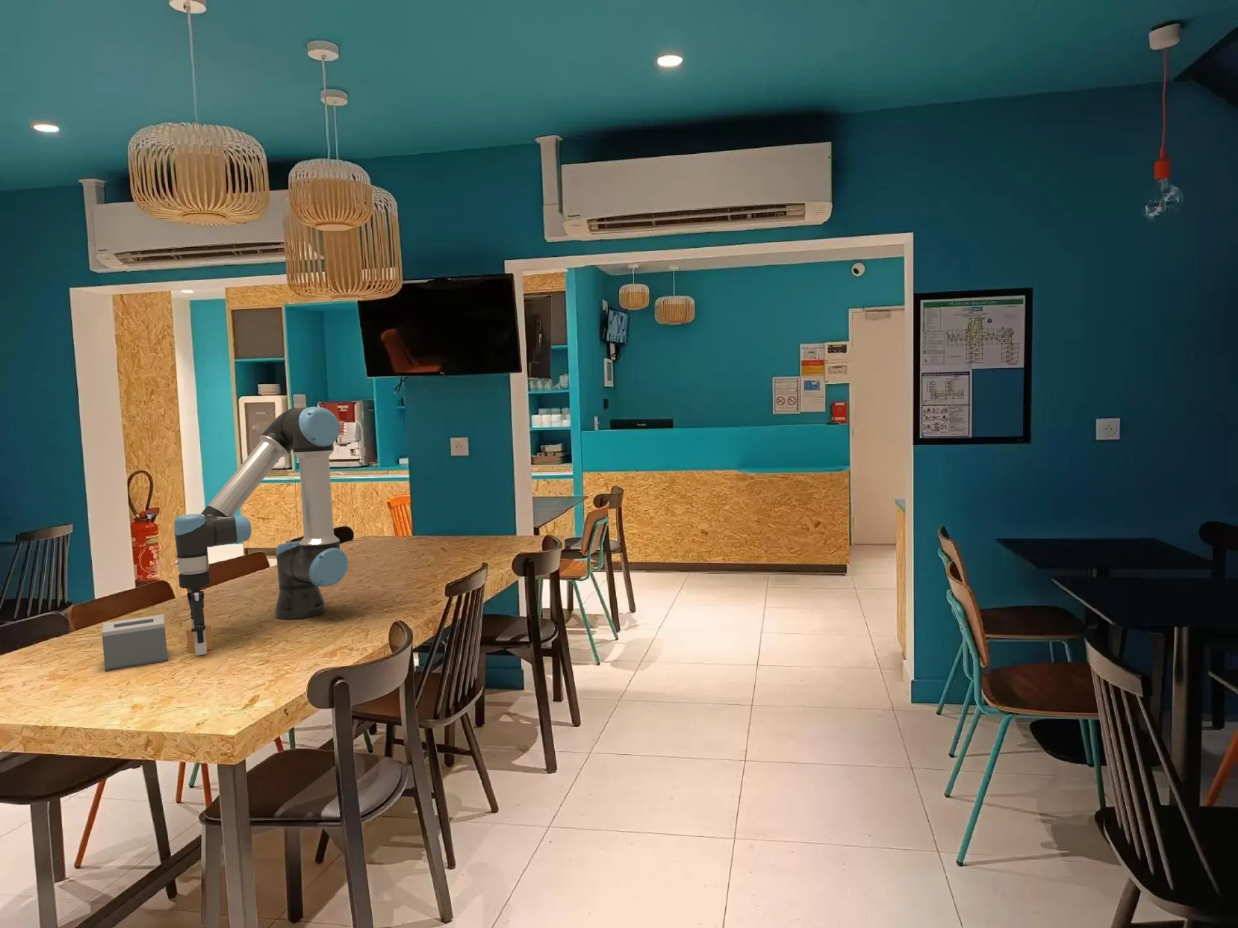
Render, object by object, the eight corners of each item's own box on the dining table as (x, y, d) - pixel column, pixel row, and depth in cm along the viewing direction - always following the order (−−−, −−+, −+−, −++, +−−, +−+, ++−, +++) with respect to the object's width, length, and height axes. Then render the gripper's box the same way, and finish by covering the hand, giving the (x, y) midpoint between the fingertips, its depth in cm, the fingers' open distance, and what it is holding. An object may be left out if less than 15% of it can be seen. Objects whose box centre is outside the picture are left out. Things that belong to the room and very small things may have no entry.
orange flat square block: (212, 646, 234) (210, 624, 233) (212, 648, 232) (211, 626, 231) (187, 650, 231) (185, 628, 231) (188, 652, 229) (186, 630, 228)
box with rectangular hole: (166, 650, 232) (163, 614, 231) (167, 660, 221) (164, 623, 221) (107, 659, 225) (103, 622, 224) (105, 671, 215) (101, 632, 214)
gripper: (176, 566, 239) (182, 640, 240) (179, 580, 217) (186, 662, 219) (206, 563, 242) (211, 636, 244) (212, 576, 221) (218, 656, 222)
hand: (199, 648), depth 231 cm, fingers open, 13 cm apart
